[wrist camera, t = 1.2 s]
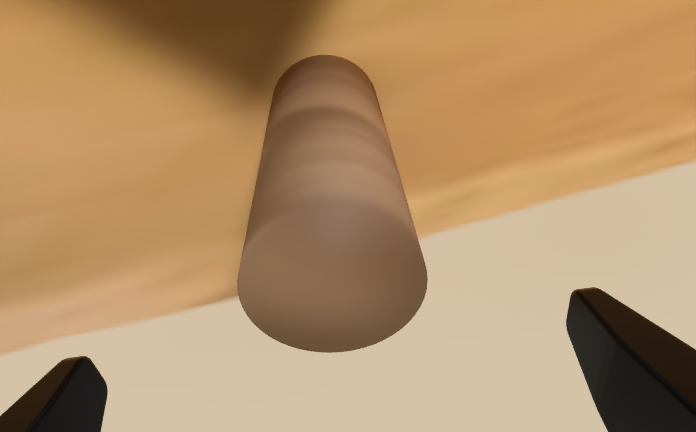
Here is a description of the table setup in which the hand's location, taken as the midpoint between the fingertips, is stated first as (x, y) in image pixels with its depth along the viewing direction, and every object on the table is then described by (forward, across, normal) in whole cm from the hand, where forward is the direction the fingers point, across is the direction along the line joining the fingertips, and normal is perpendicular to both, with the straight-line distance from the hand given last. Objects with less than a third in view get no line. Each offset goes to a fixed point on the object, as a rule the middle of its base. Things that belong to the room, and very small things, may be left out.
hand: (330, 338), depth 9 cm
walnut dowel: (+11, 0, 0) cm, 11 cm away
